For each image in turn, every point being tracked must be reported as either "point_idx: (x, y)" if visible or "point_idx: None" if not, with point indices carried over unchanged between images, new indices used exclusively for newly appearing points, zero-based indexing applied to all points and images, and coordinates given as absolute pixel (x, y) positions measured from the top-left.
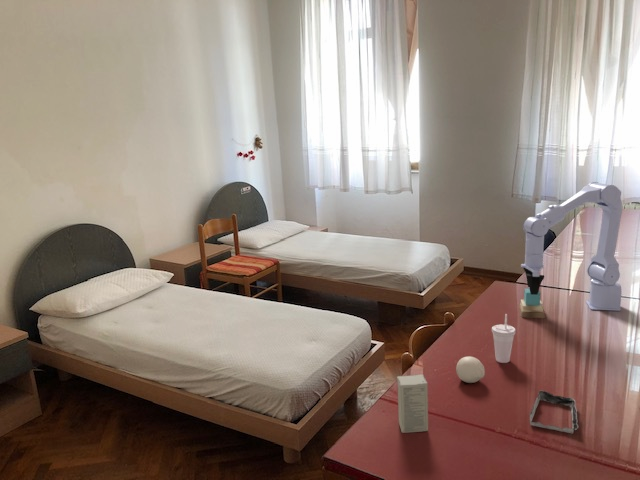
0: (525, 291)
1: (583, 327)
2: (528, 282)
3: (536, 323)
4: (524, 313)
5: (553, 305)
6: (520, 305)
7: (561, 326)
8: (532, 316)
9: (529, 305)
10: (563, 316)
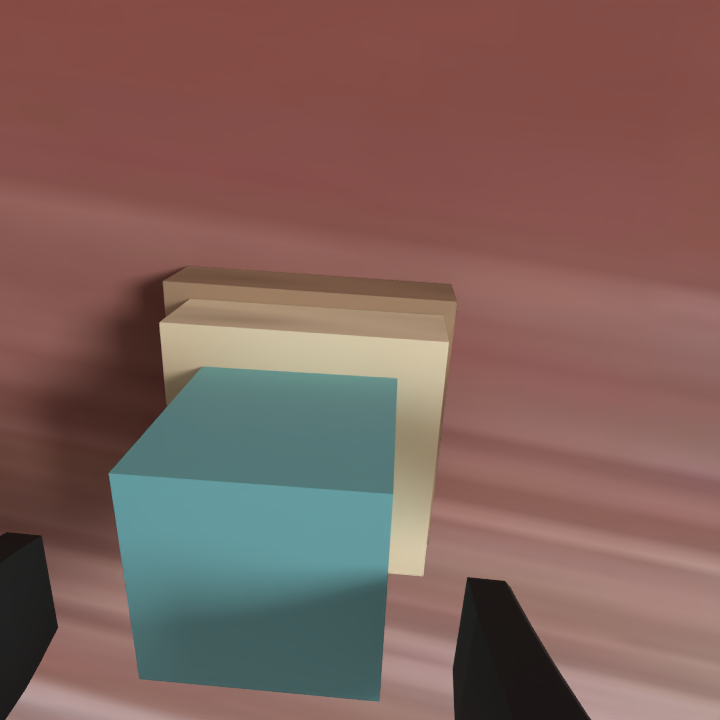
0: (247, 473)
1: (59, 695)
2: (482, 670)
3: (41, 385)
4: (171, 310)
5: (570, 630)
6: (421, 309)
7: None
8: None
9: None
10: None
